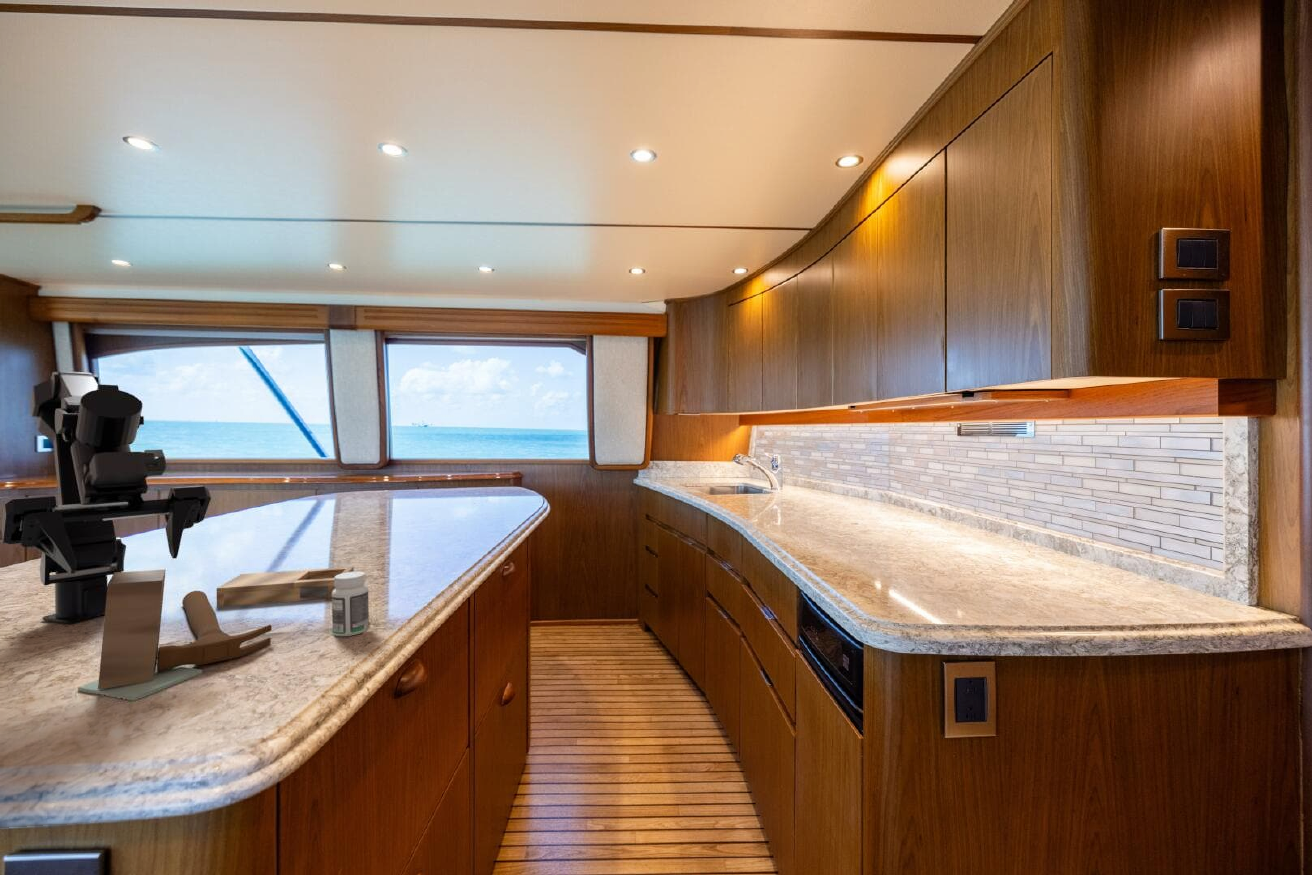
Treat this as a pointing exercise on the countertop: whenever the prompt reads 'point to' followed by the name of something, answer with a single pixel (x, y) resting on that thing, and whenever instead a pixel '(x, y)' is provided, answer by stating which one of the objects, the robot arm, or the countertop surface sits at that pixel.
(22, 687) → the countertop surface
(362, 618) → the pill bottle
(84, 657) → the countertop surface
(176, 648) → the hammer
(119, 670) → the brown wooden block
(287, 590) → the slotted wooden slab
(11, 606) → the countertop surface
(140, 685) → the rubber mat
